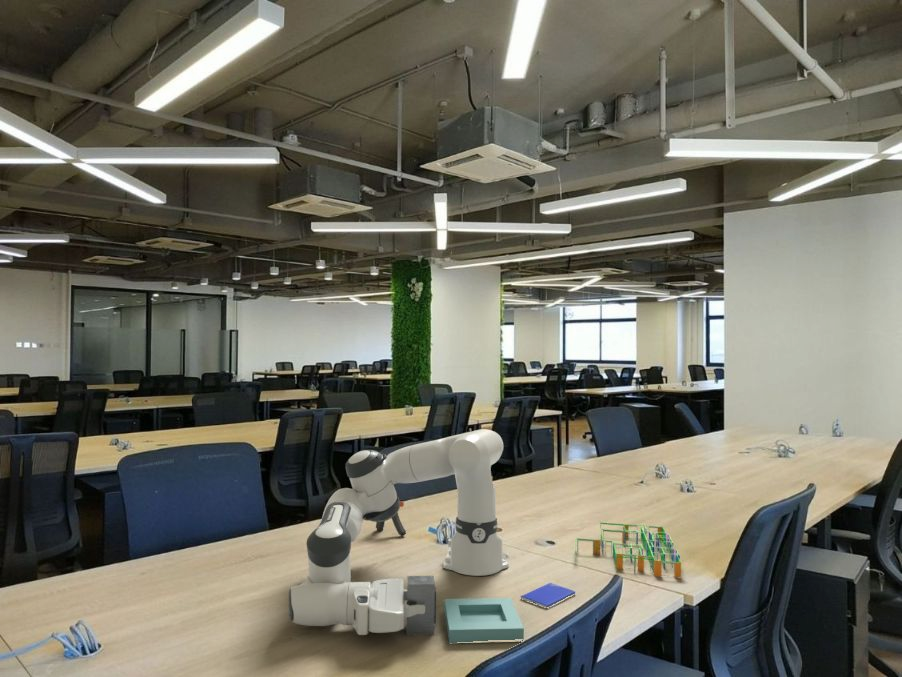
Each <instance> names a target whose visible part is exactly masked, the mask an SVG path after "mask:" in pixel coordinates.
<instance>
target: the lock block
mask: <svg viewBox="0 0 902 677" xmlns="http://www.w3.org/2000/svg"><path fill="white" fill-rule="evenodd" d="M406 580H407V581H406V582H407V583H406V589H407V600H406V605H409V606H411V605H417V603H424V604H425V613H424V614H416V615H413V616H411V617H406V636H415V635H414V634H434V635H435V625H436V624H437V620H436V619H437V616H436V615H437V589H436V588H437V587H436V583H435V576H434V575H407V579H406Z"/></svg>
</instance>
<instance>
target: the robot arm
mask: <svg viewBox="0 0 902 677" xmlns="http://www.w3.org/2000/svg"><path fill="white" fill-rule="evenodd" d="M503 451H504V442H503V439H502V437H501V435H500V434H499V433H498V432H496V431H493V430H492V429H485V428H483V429H482V428H480V429H477V430H473V431H467V432H463V433H460V434H454V435H451V436H447V437H444V438H439V439H435V440H430V441H426V442H420V443H417V444H412V445H408V446H405V447H402V448H399V449H397V450H394V451H392V452H390V453H388V454H385V453H384V452H381V451H380V452H379V451H377V450H373V449H362V450H360V451H358V452H356V453H354V454H353V455H352V456H350V457H349V458H348V459H347V461H346V462H345V471H346V475H347V477H348V478H349V481H350V484H351V487H352V488H349V487H343V488H340V489H338V490H336V491H335V492H333V494H332V495H331V496H330V498H329V499H328V501H327V503H326V505H325V507H324V510H323V512H322V513H323V514H322V517H321V521H320V523H319V524H318V526H317V527H316V528H315V529H314V530H313V531H312V532H311V533H310V534H309V536H308V537H307V539H306V549H307V550H306V551H307V557H308V558H307V559H308V560H307V562H308V564H307V565H308V576H307V577H306V578H305V580H304V581H303V582H302V583H301V584H298V585H293V586H291V587H290V589H289V592H288V609H289V611H288V612H289V619H290V621H291V622H292V623H294V624H296V625H301V626H306V627H307V626H308V627H328V626H332V625H336V624H337V625H342V626H352V628H354V630H355V632H356V633H357V635H359V636H365V635H368V634H369V632H370V633H374V634H375V633H376V634H383V633H394V632H395V633H396V632H399V631H401V630H403V629H404V628H405V627H404V624H405V622H404V621H405V619H404V618H407V617H411V616H413V615H416V614H424V613H425V604H424V603H417V605H411V606H409V605H407V604H404V602H405V601H406V602H407V588H405V584H404V583H405V581H404V579H403V578H398V577H396V578H383V579H377V580H374V581H372V583H371V582H370V581H351V579H352V576H351V575H352V574H351V549H352V548H351V547H352V543H353V542H354V541H355V540H356V539H357V538H358V537H359V534H360V532H361V530H362V526H363V521H370V522H374V523H376V522H383V521H385V522H386V521H389V520H390V519H391V520H392V517H393V516H395V515H396V513H397V512H398V513H399V511H400V509H401V507H400V502H401V501H400V498H399V495H398V494H397V491H396V488H395V486H394V485H395V484H412V483H419V482H420V483H421V482H425V481H430V480H436V479H441V478H446V477H449V476H452V475H454V477H455V482H456V483H455V484H456V488H457V489H456V491H457V515H456V518H455V523H454V524H455V533H454V534H453V535H452V538H448V540H447V547H448V551H447V554H446V556H445V559H444V560H443V565H442V568H443V569H446V570H450V571H454V572H456V573H458V574H462V575H466V576H473V577H476V576H477V577H478V576H479V577H480V576H481V577H482V576H489V575H494V574H497V573H499V572H500V571H501V570H504V569H507V568H509V562H507V560H505V559H504V558H503V557H504V556H503V538H502V537H501V536H500V535H499V534H498V533H497V531H498V518H497V515H496V513H497V512H496V511H497V510H496V509H497V491H496V488H495V486H494V482H493V477H492V471H491V468H492V465H494V464H496V463H497V462H498V461H499V460H500V458H501V456H502V455H503Z"/></svg>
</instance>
